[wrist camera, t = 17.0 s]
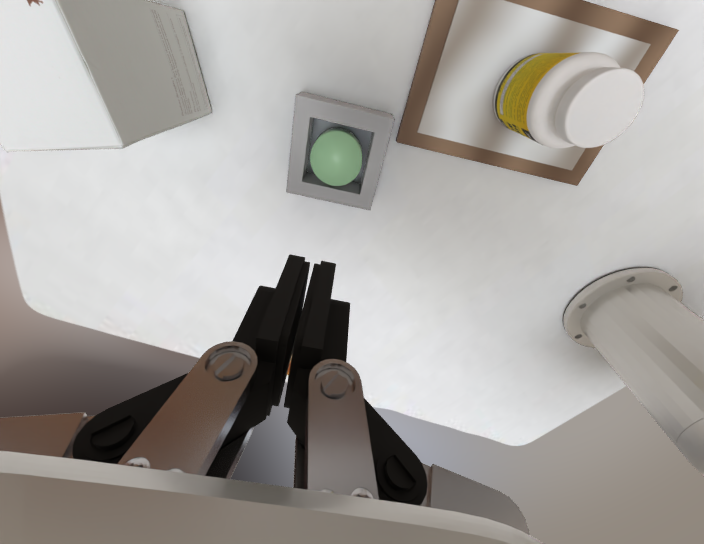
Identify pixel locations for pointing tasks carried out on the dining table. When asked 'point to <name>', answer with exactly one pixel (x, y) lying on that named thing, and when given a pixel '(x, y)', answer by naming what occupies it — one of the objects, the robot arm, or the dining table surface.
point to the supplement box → (94, 73)
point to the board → (495, 59)
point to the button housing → (345, 115)
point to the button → (336, 157)
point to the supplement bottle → (568, 99)
